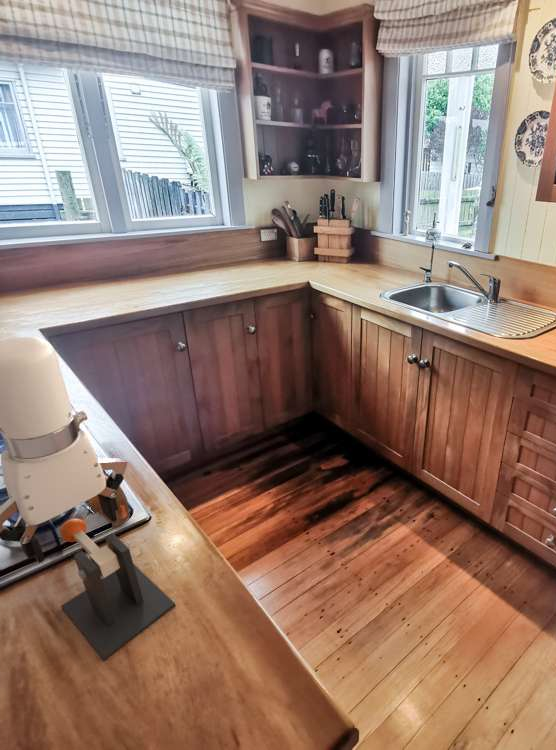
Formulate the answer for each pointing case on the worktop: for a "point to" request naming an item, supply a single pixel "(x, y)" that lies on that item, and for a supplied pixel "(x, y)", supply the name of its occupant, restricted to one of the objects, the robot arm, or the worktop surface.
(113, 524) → the mottled brown oval slab
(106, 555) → the lever with orange knob
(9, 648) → the worktop surface
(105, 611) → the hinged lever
